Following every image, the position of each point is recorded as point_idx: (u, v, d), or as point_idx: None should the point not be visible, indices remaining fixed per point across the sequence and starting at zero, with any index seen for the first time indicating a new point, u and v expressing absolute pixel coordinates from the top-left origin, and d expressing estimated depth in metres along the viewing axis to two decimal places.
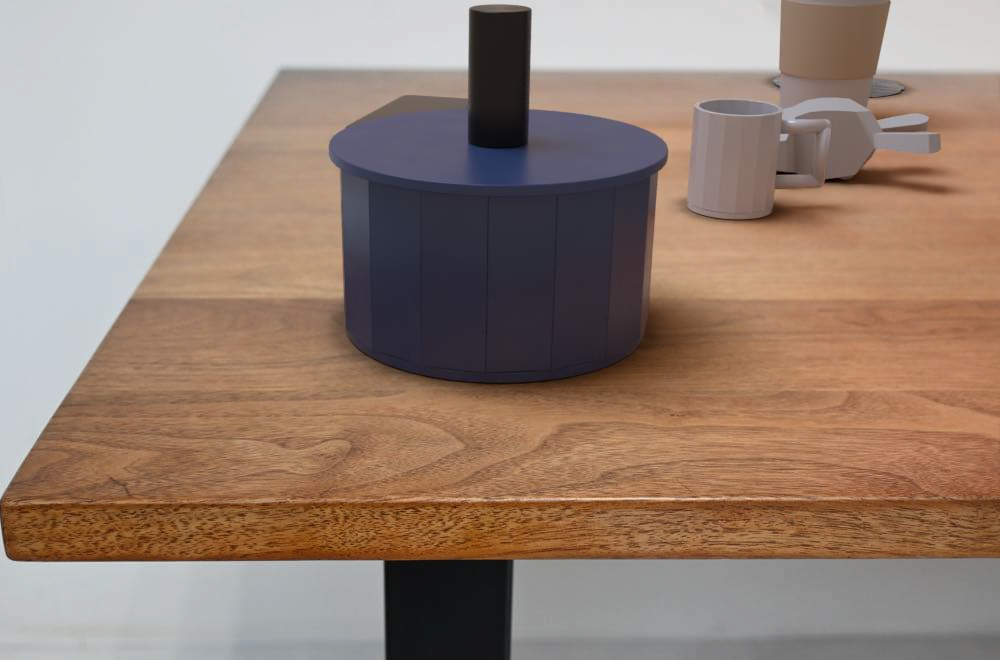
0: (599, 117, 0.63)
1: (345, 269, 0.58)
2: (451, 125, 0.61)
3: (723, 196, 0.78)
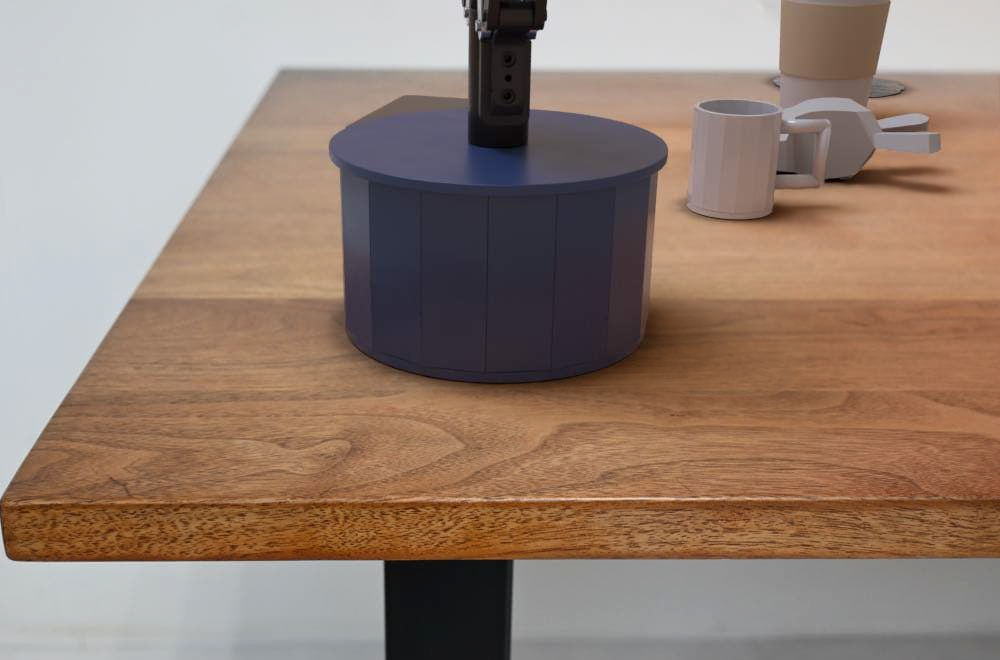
0: (599, 117, 0.63)
1: (345, 269, 0.58)
2: (451, 125, 0.61)
3: (723, 196, 0.78)
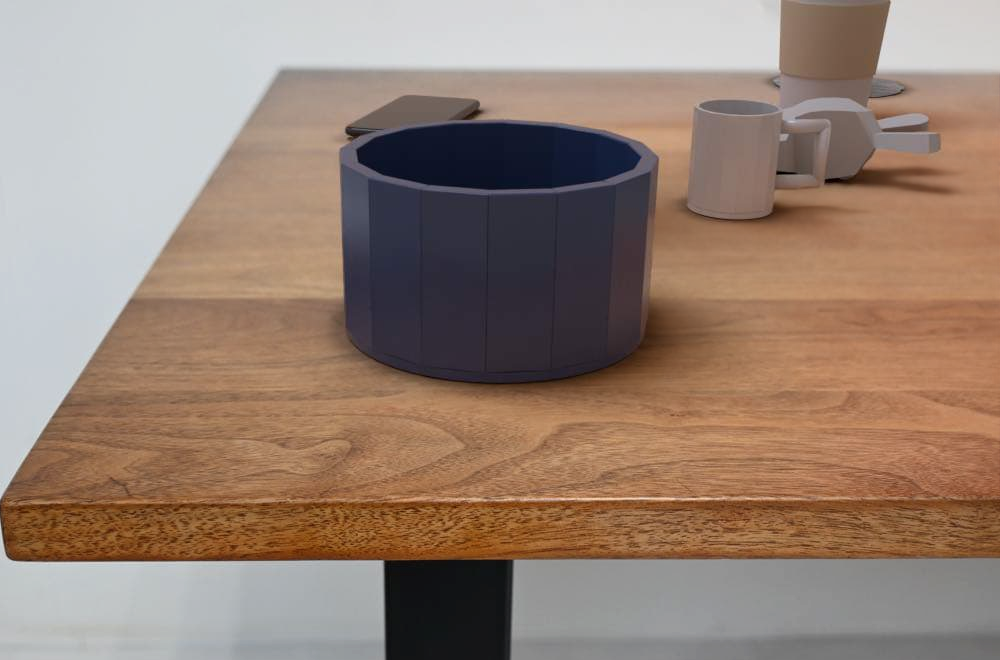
0: None
1: (345, 269, 0.58)
2: None
3: (723, 196, 0.78)
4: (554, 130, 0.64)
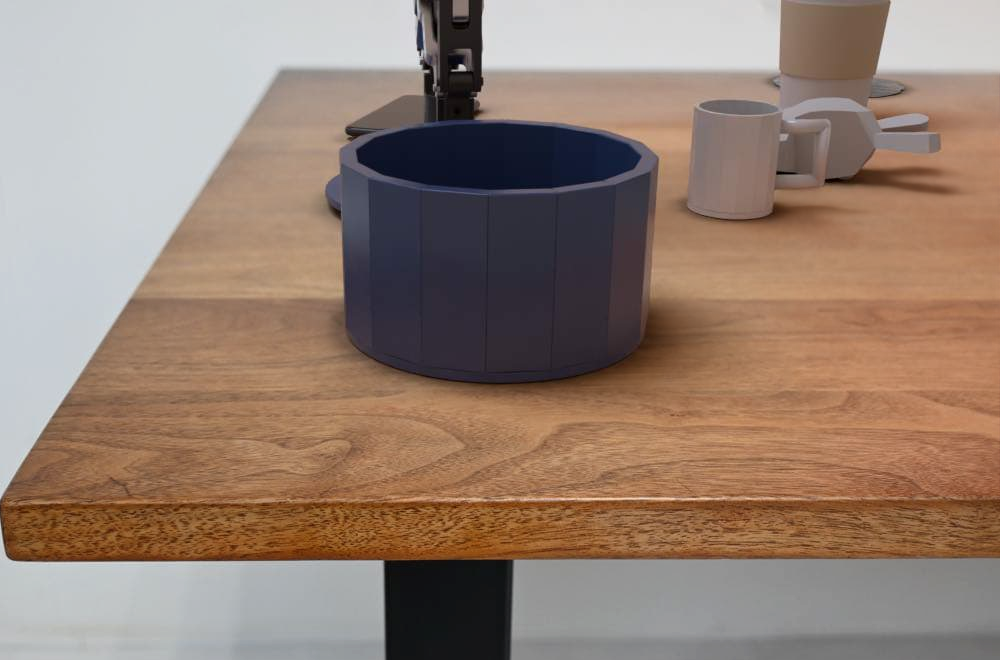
0: None
1: (345, 269, 0.58)
2: None
3: (723, 196, 0.78)
4: (554, 130, 0.64)
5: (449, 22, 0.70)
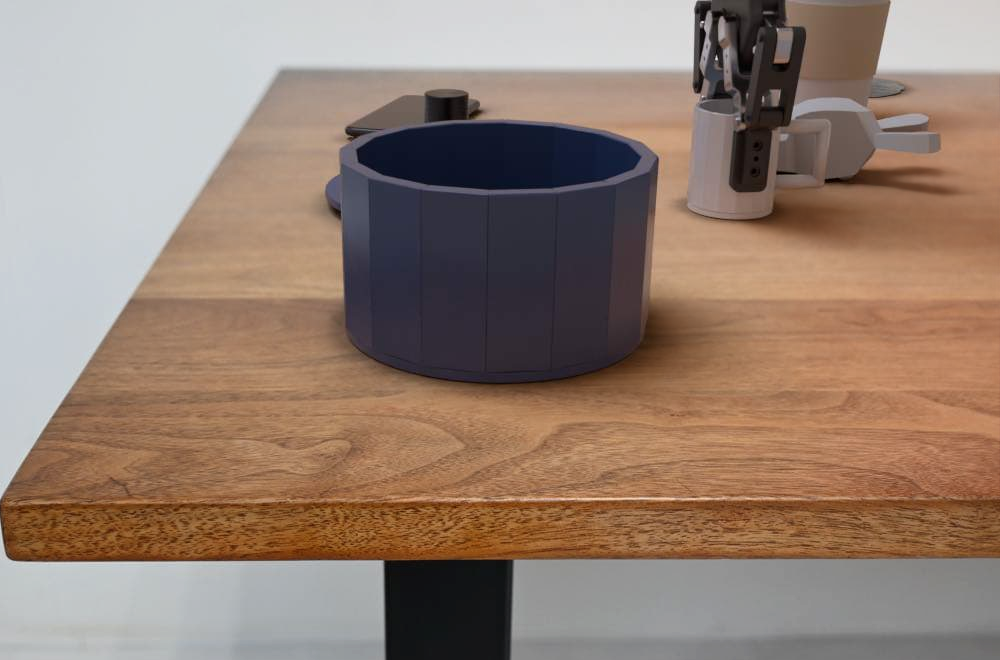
0: None
1: (345, 269, 0.58)
2: None
3: (723, 196, 0.78)
4: (554, 130, 0.64)
5: (769, 65, 0.71)
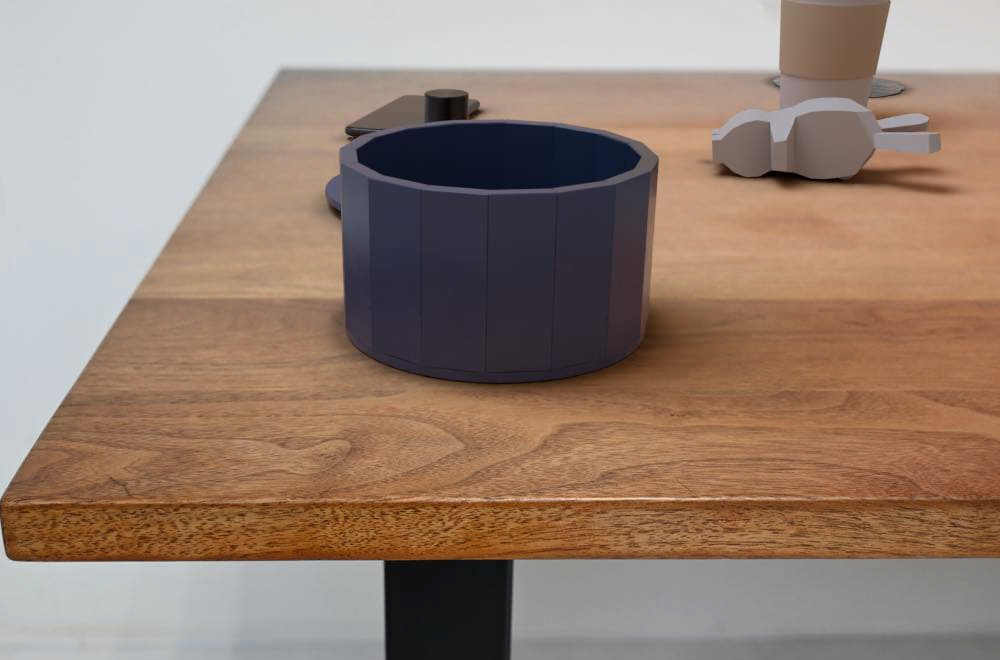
0: None
1: (345, 269, 0.58)
2: None
3: None
4: (554, 130, 0.64)
5: None
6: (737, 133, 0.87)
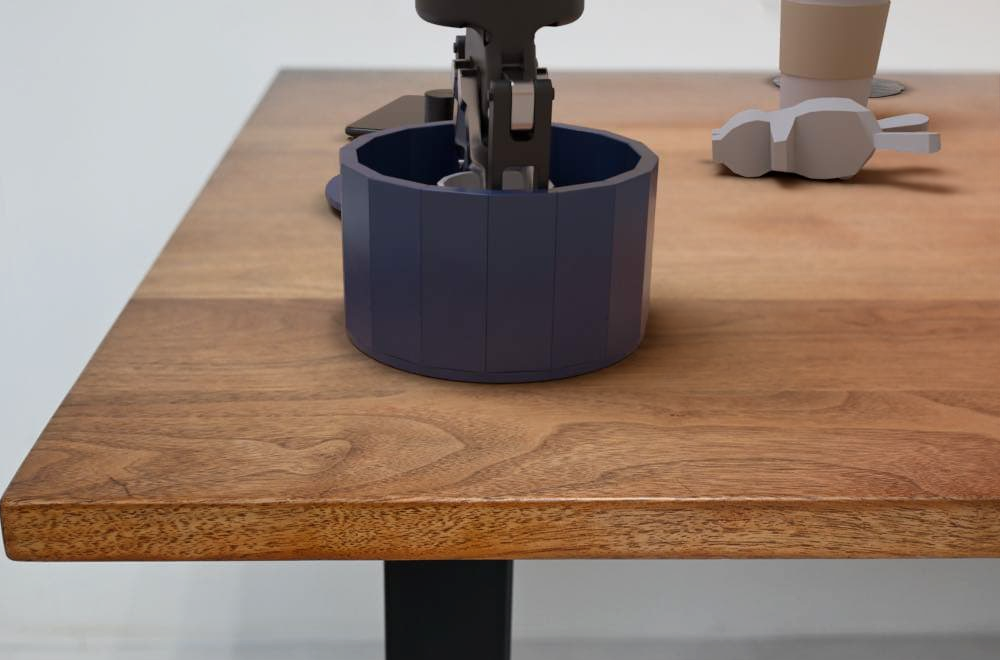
0: None
1: (345, 269, 0.58)
2: None
3: None
4: (554, 130, 0.64)
5: (506, 132, 0.51)
6: (737, 133, 0.87)
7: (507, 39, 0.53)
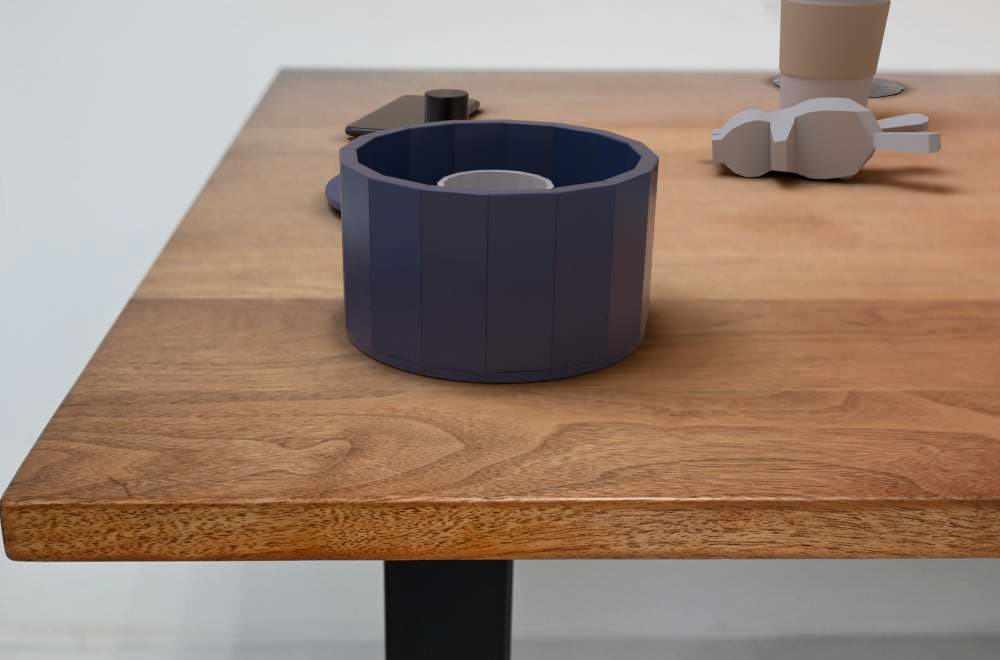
0: None
1: (345, 269, 0.58)
2: None
3: None
4: (554, 130, 0.64)
5: None
6: (737, 133, 0.87)
7: None
